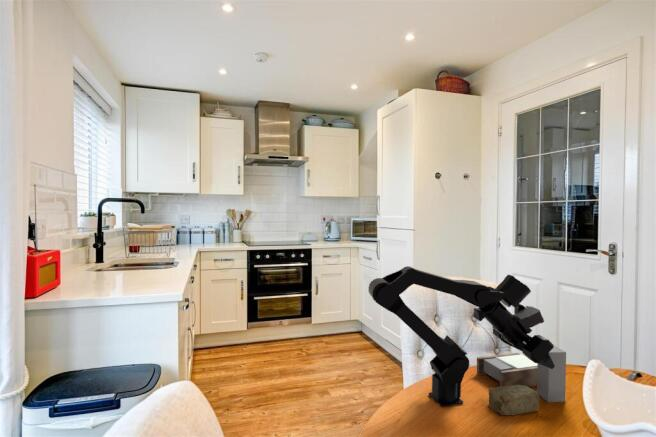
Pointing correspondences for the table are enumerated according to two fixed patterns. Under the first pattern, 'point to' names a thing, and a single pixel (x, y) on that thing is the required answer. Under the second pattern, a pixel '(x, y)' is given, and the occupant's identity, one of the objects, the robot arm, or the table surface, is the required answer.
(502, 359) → the trapdoor flap
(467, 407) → the table surface
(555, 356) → the granite pillar
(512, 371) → the frame
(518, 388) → the stone block
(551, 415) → the table surface
